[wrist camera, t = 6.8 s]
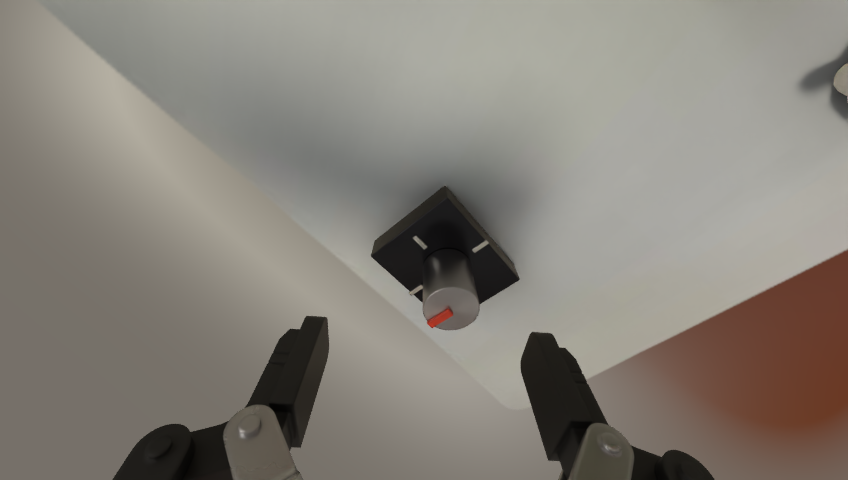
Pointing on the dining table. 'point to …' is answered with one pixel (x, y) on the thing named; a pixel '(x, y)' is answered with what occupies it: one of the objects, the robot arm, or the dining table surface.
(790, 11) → the dining table surface
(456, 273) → the hob knob
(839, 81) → the cat figurine
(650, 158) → the dining table surface
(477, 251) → the panel
